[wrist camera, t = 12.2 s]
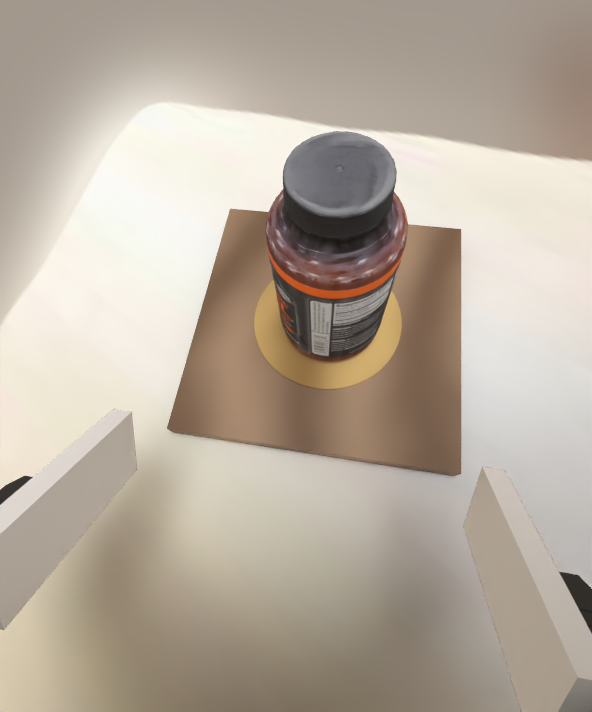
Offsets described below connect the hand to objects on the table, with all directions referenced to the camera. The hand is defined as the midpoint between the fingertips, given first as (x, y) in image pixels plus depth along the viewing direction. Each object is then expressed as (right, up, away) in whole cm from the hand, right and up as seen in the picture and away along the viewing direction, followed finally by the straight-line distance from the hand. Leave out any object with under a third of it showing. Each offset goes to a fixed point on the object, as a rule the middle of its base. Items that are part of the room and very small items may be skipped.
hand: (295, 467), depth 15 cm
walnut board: (+2, +6, +10) cm, 12 cm away
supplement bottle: (+2, +6, +9) cm, 12 cm away
